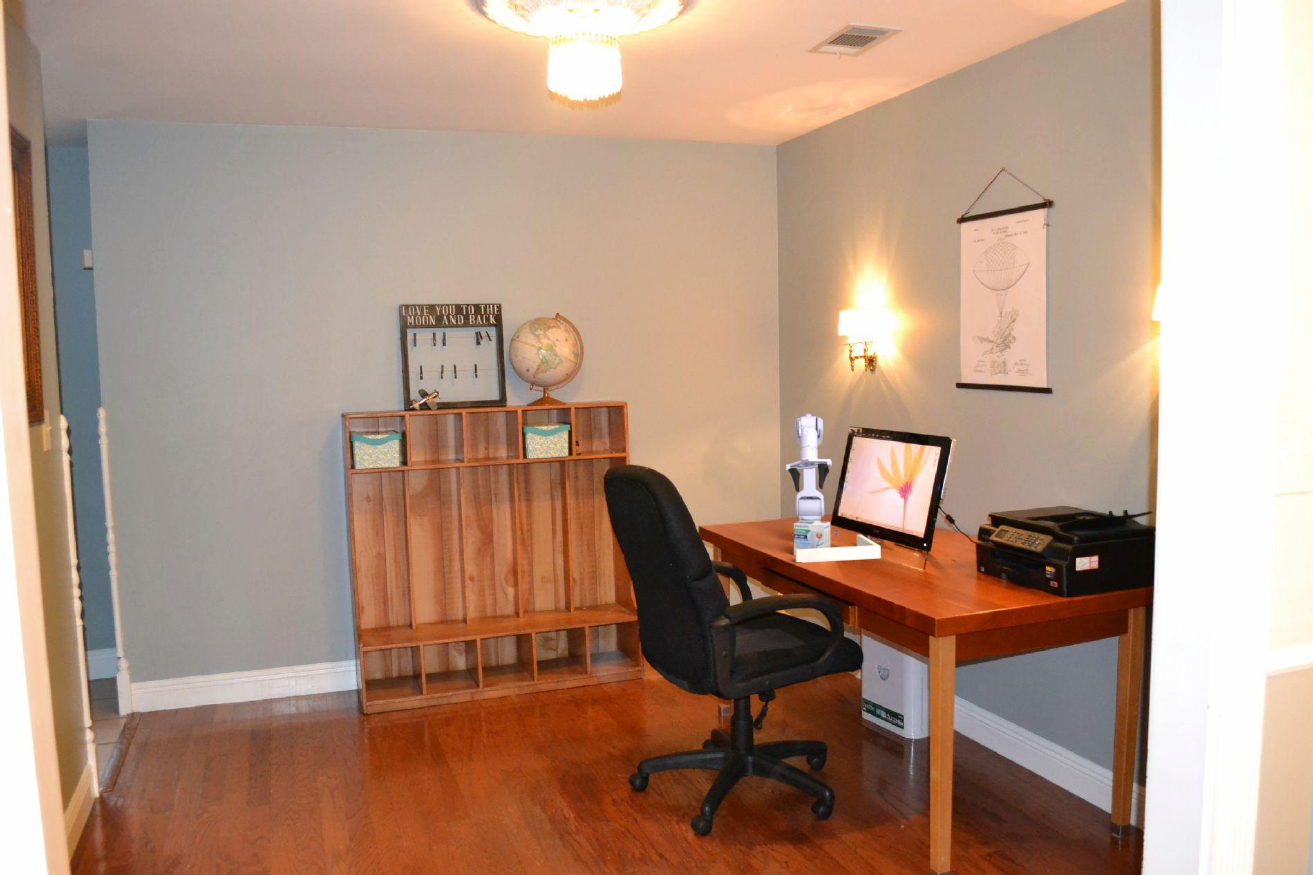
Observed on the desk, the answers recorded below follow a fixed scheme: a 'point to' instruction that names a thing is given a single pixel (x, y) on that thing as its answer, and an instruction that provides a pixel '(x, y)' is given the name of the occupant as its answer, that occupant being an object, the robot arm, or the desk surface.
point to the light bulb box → (811, 535)
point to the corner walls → (841, 552)
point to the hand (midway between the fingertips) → (808, 489)
